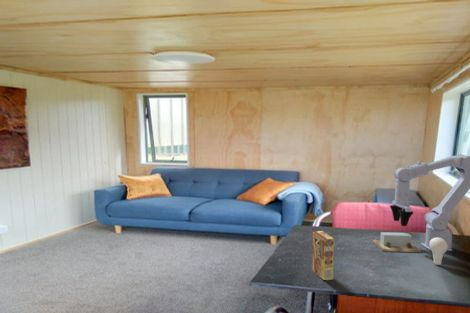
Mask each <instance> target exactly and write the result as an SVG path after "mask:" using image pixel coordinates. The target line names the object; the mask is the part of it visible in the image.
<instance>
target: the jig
mask: <svg viewBox="0 0 470 313" xmlns="http://www.w3.org/2000/svg"><path fill="white" fill-rule="evenodd" d="M372 243H374V244H375V245H376V247H378V249H380V251H382V252H396V253H397V252H398V253H399V252H400V253H402V252H403V253H421V249H420V248H419V247H417V246H416V245H414V243H412V242H411V243H408V246H391V244H390V243H387V246H383V245H382V244H381V243H380V239H372Z"/></svg>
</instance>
